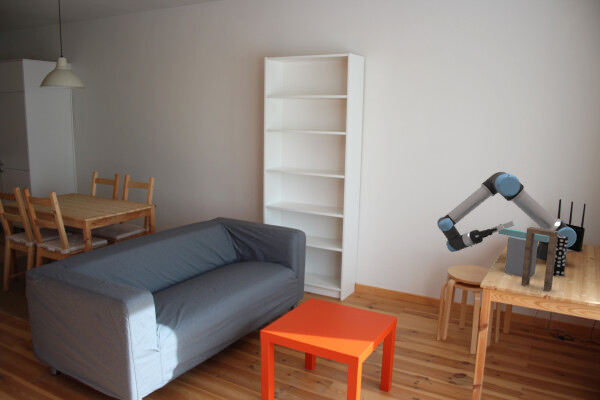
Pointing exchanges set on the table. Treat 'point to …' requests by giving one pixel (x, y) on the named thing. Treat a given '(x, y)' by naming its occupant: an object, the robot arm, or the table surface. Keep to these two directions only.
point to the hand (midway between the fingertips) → (508, 224)
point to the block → (518, 256)
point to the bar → (523, 234)
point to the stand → (550, 256)
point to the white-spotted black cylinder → (560, 255)
